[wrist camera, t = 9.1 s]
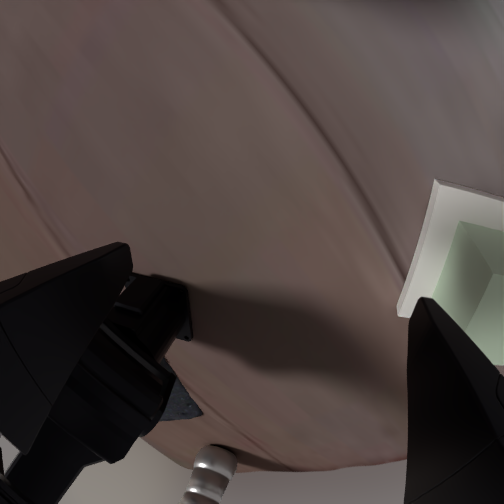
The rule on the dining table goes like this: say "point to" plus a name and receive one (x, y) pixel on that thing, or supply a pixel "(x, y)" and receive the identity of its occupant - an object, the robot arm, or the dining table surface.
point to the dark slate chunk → (179, 401)
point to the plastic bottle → (210, 476)
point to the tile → (445, 235)
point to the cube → (476, 287)
